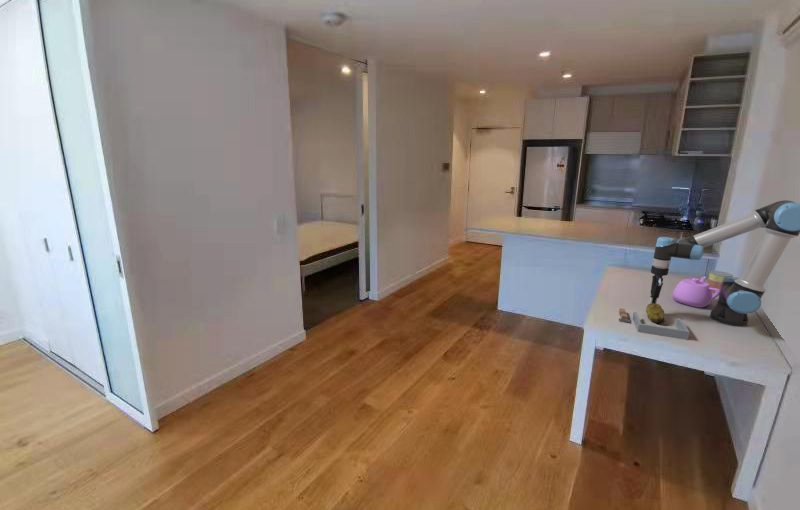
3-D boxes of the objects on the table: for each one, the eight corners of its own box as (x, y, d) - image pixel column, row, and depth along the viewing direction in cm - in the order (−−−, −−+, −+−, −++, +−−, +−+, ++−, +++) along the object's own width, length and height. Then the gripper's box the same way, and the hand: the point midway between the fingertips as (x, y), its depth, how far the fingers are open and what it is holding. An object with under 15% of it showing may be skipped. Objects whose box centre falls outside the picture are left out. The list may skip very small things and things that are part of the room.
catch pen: (678, 325, 190) (680, 318, 189) (688, 339, 176) (689, 332, 175) (632, 318, 198) (633, 311, 197) (637, 331, 183) (639, 324, 182)
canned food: (719, 288, 243) (724, 271, 240) (733, 295, 233) (737, 276, 229) (701, 287, 245) (705, 270, 241) (713, 294, 234) (718, 275, 231)
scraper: (616, 311, 207) (616, 307, 206) (626, 313, 205) (627, 309, 204) (619, 322, 194) (620, 317, 194) (630, 323, 192) (631, 319, 192)
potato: (644, 322, 194) (647, 308, 191) (644, 313, 204) (647, 300, 202) (663, 326, 189) (666, 311, 187) (663, 317, 200) (666, 303, 197)
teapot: (710, 313, 205) (717, 287, 201) (667, 301, 222) (672, 277, 218) (726, 304, 217) (732, 280, 213) (683, 293, 234) (689, 270, 230)
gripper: (649, 262, 203) (641, 302, 210) (654, 269, 192) (645, 311, 198) (666, 264, 201) (657, 305, 207) (671, 271, 189) (662, 313, 196)
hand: (651, 308), depth 203 cm, fingers closed
